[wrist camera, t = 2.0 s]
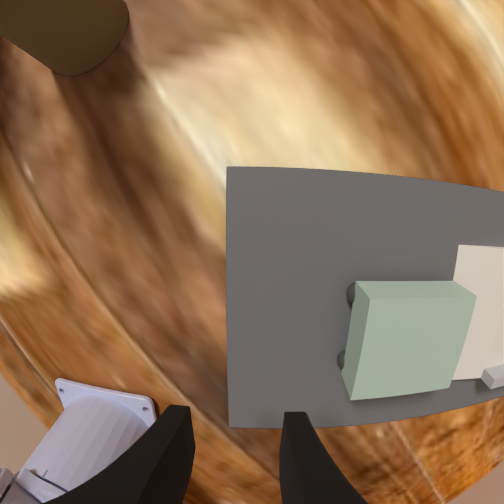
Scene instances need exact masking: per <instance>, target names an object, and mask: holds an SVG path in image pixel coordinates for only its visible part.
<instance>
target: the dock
mask: <svg viewBox="0 0 504 504" xmlns="http://www.w3.org/2000/svg"><path fill="white" fill-rule="evenodd" d="M356 281H455V282H456V283H458V284H460V285H461V286H463V287H464V288H466V289H467V290H469V291H470V292H472V293H473V294H475V295H476V296H477V298H476V302H475V306H474V310H473V314H472V318H471V322H470V325H469V329H468V333H467V336H466V339H465V343H464V346H463V349H462V352H461V355H460V358H459V361H458V364H457V367H456V370H455V373H454V376H453V378H452V381H451V384H450V386H449V388H445V389H439V390H434V391H427V392H421V393H414V394H407V395H400V396H391V397H382V398H372V399H361V400H350V397H349V395H348V392H347V389H346V386H345V383H344V380H343V377H342V374H341V373H342V369H341V368H340V367H339V366H338V364H337V356H338V354H339V353H340V352H341V351H343V350H346V345H347V339H348V333H349V326H350V319H351V313H352V305H353V304H352V303H351V302H350V301H349V300H348V299H347V295H346V291H347V288H348V286H349V285H350V284H351V283H353V282H356ZM226 320H227V373H228V409H229V427H242V428H280V429H282V428H283V419H284V412H305V413H307V415H308V417H309V419H310V422H311V424H312V426H313V428H323V427H339V426H352V425H363V424H372V423H380V422H388V421H395V420H402V419H408V418H414V417H420V416H425V415H430V414H435V413H440V412H445V411H449V410H454V409H458V408H462V407H466V406H470V405H474V404H478V403H481V402H485V401H488V400H492V399H495V398H498V397H501V396H504V192H501V191H495V190H490V189H484V188H479V187H473V186H467V185H461V184H455V183H448V182H441V181H434V180H427V179H419V178H411V177H402V176H393V175H384V174H374V173H363V172H351V171H337V170H322V169H304V168H280V167H227V180H226Z"/></svg>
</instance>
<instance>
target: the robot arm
mask: <svg viewBox="0 0 504 504" xmlns="http://www.w3.org/2000/svg"><path fill="white" fill-rule="evenodd" d="M55 385H56V388H57V391H58V393H59V396H60V399H61V401H62V404H63V407H64V409H65V410H64V412H63V413H62V414H61V415H60V417H59V418H58V419H57V421H56V422H55V423H54V425H53V426H52V427H51V429H50V430H49V431H48V433H47V434H46V435H45V437H44V438H43V440H42V441H41V442H40V444H39V445H38V446H37V448H36V449H35V451H34V452H33V453H32V455H31V456H30V457H29V459H28V460H27V462H26V463H25V464H24V466H23V467H22V469H21V470H20V471H19V472H18V473H16V474H15V475H14V476H13V473H12V472H11V471H9V470H8V469H7V468H4V469H3V470H2V469H1V468H0V504H182V502H183V499H184V495H185V492H186V489H187V486H188V482H189V479H190V476H191V472H192V466H193V460H194V454H195V441H194V434H193V427H192V420H191V412H190V407H189V406H180V405H172V404H171V405H169V406H168V407H167V408H166V409H165V411H164V412H163V413H162V414H161V415H160V416H159V418H158V419H157V417H156V413H155V408H154V403H153V401H152V399H151V398H149V397H147V396H143V395H137V394H131V393H125V392H120V391H115V390H109V389H105V388H100V387H95V386H91V385H86V384H82V383H78V382H74V381H70V380H66V379H62V378H58V379H57V380H56V381H55ZM145 407H146V408H148V409H146V408H145ZM280 486H281V495H282V503H283V504H368V503H367V502H366V501H365V500H364V499H363V498H362V497H361V496H360V494H359V493H358V492H357V491H356V490H355V489H354V488H353V486H352V485H351V484H350V483H349V482H348V480H347V479H346V478H345V476H344V475H343V474H342V473H341V471H340V470H339V468H338V467H337V466H336V464H335V463H334V461H333V460H332V458H331V457H330V455H329V454H328V452H327V451H326V449H325V447H324V446H323V444H322V442H321V441H320V439H319V437H318V435H317V434H316V432H315V430H314V428H313V426H312V424H311V422H310V419H309V417H308V415H307V413H305V412H284V419H283V428H282V437H281V445H280Z"/></svg>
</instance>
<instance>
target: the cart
mask: <svg viewBox="0 0 504 504" xmlns="http://www.w3.org/2000/svg"><path fill="white" fill-rule="evenodd" d="M346 295H347V299H348V300H349V301H350V302H351V303H352V304H353V305H352V313H351V319H350V326H349V333H348V339H347V345H346V350H343V351H341V352H340V353H339V354H338V356H337V364H338V366H339V367H340V368H341V369H342V373H341V374H342V377H343V380H344V383H345V386H346V389H347V392H348V395H349V397H350V400H361V399H372V398H382V397H391V396H400V395H407V394H414V393H421V392H427V391H434V390H439V389H445V388H449V386H450V384H451V381H452V378H453V376H454V373H455V370H456V367H457V364H458V361H459V358H460V355H461V352H462V349H463V346H464V343H465V339H466V336H467V333H468V329H469V325H470V322H471V318H472V314H473V310H474V306H475V302H476V298H477V296H476V295H475V294H473V293H472V292H470V291H469V290H467V289H466V288H464V287H463V286H461V285H460V284H458V283H456V282H455V281H356V282H353V283H351V284H350V285H349V286H348V288H347V291H346Z"/></svg>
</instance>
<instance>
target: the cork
mask: <svg viewBox="0 0 504 504" xmlns="http://www.w3.org/2000/svg"><path fill="white" fill-rule="evenodd" d="M128 16H129V12H128V9H127V6H126V3H125V2H124V1H123V0H0V35H1V36H3V37H4V38H6V39H7V40H9V41H10V42H12V43H13V44H15V45H16V46H18V47H19V48H21V49H22V50H24V51H25V52H27V53H28V54H30V55H31V56H32V57H34V58H35V59H37V60H38V61H40V62H41V63H43V64H44V65H45V66H47V67H48V68H50V69H51V70H53V71H54V72H56V73H58V74H60V75H62V76H76V75H79V74H82V73H85V72H88V71H89V70H91V69H93V68H94V67H96V66H97V65H99V64H101V63H102V62H103V61H104V60H105V59H106V58H107V57H108V56H109V55H110V54H111V53H112V52H113V51H114V49H115V48H116V46H117V45H118V44H119V42H120V41H121V39H122V38H123V35H124V33H125V30H126V28H127V25H128Z"/></svg>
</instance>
